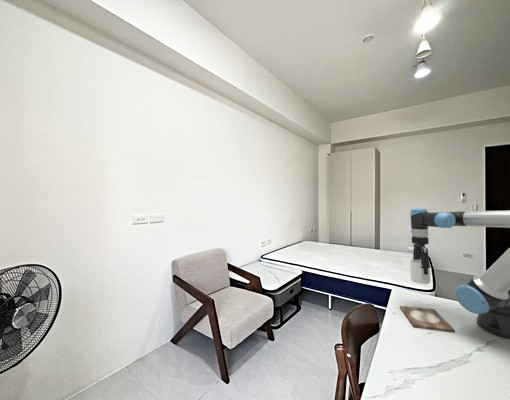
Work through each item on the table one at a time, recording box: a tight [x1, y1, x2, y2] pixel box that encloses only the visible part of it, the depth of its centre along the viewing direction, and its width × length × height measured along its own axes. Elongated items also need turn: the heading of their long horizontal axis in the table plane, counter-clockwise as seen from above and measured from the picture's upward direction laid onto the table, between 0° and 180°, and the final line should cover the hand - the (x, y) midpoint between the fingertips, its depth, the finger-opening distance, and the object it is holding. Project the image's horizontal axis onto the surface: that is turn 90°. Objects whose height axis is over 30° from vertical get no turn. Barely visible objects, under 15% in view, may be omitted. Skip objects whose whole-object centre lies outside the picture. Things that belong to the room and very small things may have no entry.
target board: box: [399, 305, 456, 334], centre depth 111 cm, size 16×20×1 cm
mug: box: [409, 259, 431, 285], centre depth 122 cm, size 9×12×11 cm
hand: (421, 276), depth 121 cm, fingers closed on mug, 10 cm apart
